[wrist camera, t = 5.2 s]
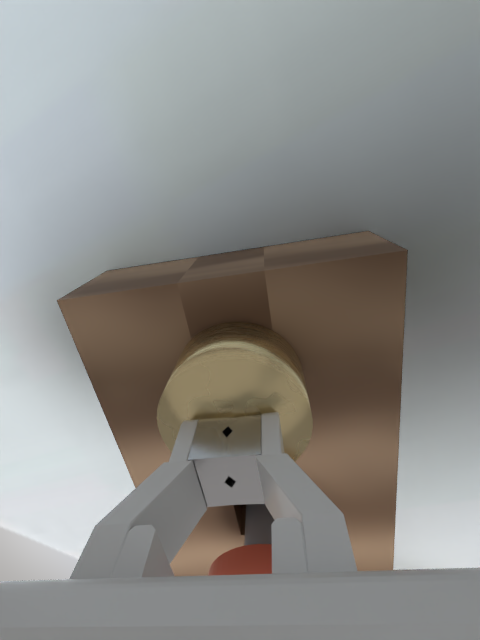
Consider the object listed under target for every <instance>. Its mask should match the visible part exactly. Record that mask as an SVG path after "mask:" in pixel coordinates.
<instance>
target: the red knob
mask: <svg viewBox="0 0 480 640" xmlns="http://www.w3.org/2000/svg"><path fill="white" fill-rule="evenodd" d="M274 521H275V520H274V519H273V517H272V515H271V514H270V512H269V510H268V509H267V507H266V505H265V504H246V520H245V541H244V546H241V547H237V548H234V549H231V550H229V551H227V552H225V553H223V554H222V555H220V556H219V557H218V558H217V559H216V560H215V561H214V562H213V563H212V565H211V567H210V569H209V573H208V576H210V575H244V574H272V530H271V524H272V523H273V522H274Z"/></svg>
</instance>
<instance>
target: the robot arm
mask: <svg viewBox="0 0 480 640" xmlns="http://www.w3.org/2000/svg"><path fill="white" fill-rule="evenodd" d="M242 504H265V505H266V507H267V509H268V510H269V512H270V514H271V515H272V517H273V519H274V520H275V521H274V522H273V523H272V524H271V530H272V574H244V575H210V576H174V573H173V571H172V569H171V566H170V563H171V562H172V560H173V559H174V557H175V556H176V554H177V553H178V551H179V550H180V548H181V547H182V545H183V544H184V542H185V541H186V539H187V538H188V537H189V535H190V534H191V532H192V531H193V529H194V528H195V526H196V525H197V523H198V522H199V520H200V519H201V517H202V516H203V514H204V513H205V511H206V510H207V507H215V506H226V505H242ZM0 640H480V568H449V569H413V570H378V571H357V567H356V563H355V559H354V555H353V551H352V547H351V542H350V538H349V534H348V530H347V526H346V522H345V518H344V514H343V513H342V512H341V511H340V510H339V509H338V508H337V506H336V505H335V504H334V503H333V502H332V501H331V500H330V499H329V498H328V497H327V496H326V495H325V494H324V493H323V491H322V490H321V489H320V488H319V487H318V486H317V485H316V484H315V483H314V482H313V481H312V480H311V479H310V478H309V477H308V475H307V474H306V473H305V472H304V471H303V470H302V469H301V468H300V467H299V466H298V465H297V464H296V463H295V462H294V460H293V459H292V458H291V457H290V456H289V455H288V454H287V453H285V452H284V445H283V438H282V431H281V424H280V417H279V413H278V412H272V413H264V414H258V415H248V416H238V417H225V418H210V419H200V420H185V421H183V423H182V424H181V426H180V429H179V432H178V435H177V438H176V441H175V444H174V447H173V450H172V453H171V456H170V459H169V462H164V463H163V464H162V465H161V466H159V467H158V468H157V469H156V470H155V471H154V472H153V473H152V474H151V475H150V476H149V477H148V478H146V479H145V480H144V481H143V482H142V483H141V484H140V485H139V486H138V487H137V488H136V489H135V490H133V491H132V492H131V493H130V494H129V495H128V496H127V497H126V498H125V499H124V500H123V501H122V502H120V503H119V504H118V505H117V506H116V507H115V508H114V509H113V510H112V511H111V512H110V513H109V514H107V515H106V516H105V517H104V518H103V519H102V520H101V521H100V522H99V523H98V524H97V525H96V526H95V527H94V529H93V531H92V534H91V536H90V538H89V540H88V542H87V544H86V546H85V548H84V550H83V552H82V554H81V556H80V558H79V560H78V562H77V564H76V567H75V568H74V571H73V573H72V575H71V577H70V579H67V580H33V581H0Z"/></svg>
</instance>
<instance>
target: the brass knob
mask: <svg viewBox="0 0 480 640" xmlns="http://www.w3.org/2000/svg"><path fill="white" fill-rule="evenodd" d="M272 412H278V413H279V417H280V424H281V431H282V438H283V445H284V452H285V453H287V454H288V455H289V456H290V457H291V458H292V459H293V460H294V462H295V461H296V460H297V459H298V458H299V457H300V456H301V455H302V453H303V452H304V451H305V449H306V447H307V445H308V444H309V441H310V438H311V435H312V429H313V419H312V413H311V408H310V403H309V399H308V394H307V389H306V384H305V380H304V375H303V370H302V366H301V363H300V360H299V357H298V356H297V354H296V352H295V350H294V349H293V348H292V346H291V345H290V344H289V343H288V342H287V341H286V340H285V339H284V338H283V337H281V336H280V335H279V334H277V333H276V332H274V331H272V330H270V329H268V328H266V327H264V326H260V325H257V324H253V323H248V322H227V323H221V324H217V325H214V326H211V327H209V328H207V329H205V330H203V331H201V332H200V333H198V334H197V335H196V336H194V337H193V338H192V339H191V340H190V341H189V342H188V343H187V345H186V346H185V347H184V349H183V351H182V352H181V355H180V357H179V359H178V361H177V363H176V365H175V368H174V370H173V372H172V374H171V376H170V378H169V380H168V383H167V385H166V387H165V389H164V391H163V393H162V396H161V398H160V400H159V404H158V408H157V424H158V428H159V432H160V434H161V437H162V439H163V441H164V443H165V444H166V446H167V447H168V449H169V450H170V451H171V452H172V450H173V447H174V444H175V441H176V438H177V435H178V432H179V429H180V426H181V424H182V423H183V421H185V420H200V419H210V418H225V417H238V416H248V415H258V414H264V413H272Z"/></svg>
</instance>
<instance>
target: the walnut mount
mask: <svg viewBox="0 0 480 640" xmlns="http://www.w3.org/2000/svg"><path fill="white" fill-rule="evenodd" d="M407 253H408V250H406V249H404V248H402V247H400V246H398V245H396V244H394V243H392V242H390V241H388V240H386V239H384V238H382V237H380V236H378V235H376V234H374V233H372V232H370V231H365V232H358V233H351V234H345V235H338V236H332V237H325V238H319V239H312V240H306V241H299V242H293V243H286V244H280V245H273V246H267V247H260V248H253V249H247V250H240V251H234V252H227V253H221V254H214V255H208V256H201V257H195V258H188V259H182V260H175V261H169V262H162V263H155V264H149V265H142V266H136V267H129V268H123V269H116V270H110V271H106V272H104V273H102V274H101V275H99V276H97V277H96V278H94V279H92V280H91V281H89V282H87V283H86V284H84V285H82V286H81V287H79V288H77V289H75V290H74V291H72V292H70V293H69V294H67V295H65V296H64V297H62V298H60V299H59V300H57V302H58V304H59V307H60V309H61V312H62V314H63V316H64V319H65V321H66V323H67V326H68V328H69V331H70V333H71V335H72V338H73V340H74V342H75V345H76V347H77V350H78V352H79V354H80V357H81V359H82V361H83V364H84V366H85V369H86V371H87V373H88V376H89V378H90V381H91V383H92V385H93V388H94V390H95V392H96V395H97V397H98V400H99V402H100V404H101V407H102V409H103V411H104V414H105V416H106V419H107V421H108V423H109V426H110V428H111V430H112V433H113V435H114V438H115V440H116V442H117V445H118V447H119V449H120V452H121V454H122V457H123V459H124V461H125V464H126V466H127V469H128V471H129V473H130V476H131V478H132V480H133V483H134V485H135V488H137V487H138V486H139V485H140V484H141V483H142V482H143V481H144V480H145V479H146V478H148V477H149V476H150V475H151V474H152V473H153V472H154V471H155V470H156V469H157V468H158V467H159V466H161V465H162V464H163V463H164V462H169V459H170V456H171V453H172V452H171V451H170V450H169V449H168V447H167V446H166V444H165V443H164V441H163V439H162V437H161V434H160V432H159V428H158V424H157V408H158V404H159V400H160V398H161V396H162V393H163V391H164V389H165V387H166V385H167V383H168V380H169V378H170V376H171V374H172V372H173V370H174V368H175V365H176V363H177V361H178V359H179V357H180V355H181V352H182V351H183V349H184V347H185V346H186V345H187V343H188V342H189V341H190V340H191V339H192V338H193V337H194V336H196V335H197V334H198V333H200V332H201V331H203V330H205V329H207V328H209V327H211V326H214V325H217V324H221V323H227V322H248V323H253V324H257V325H260V326H264V327H266V328H268V329H270V330H272V331H274V332H276V333H277V334H279V335H280V336H281V337H283V338H284V339H285V340H286V341H287V342H288V343H289V344H290V345H291V346H292V348H293V349H294V350H295V352H296V354H297V356H298V357H299V360H300V363H301V366H302V370H303V375H304V380H305V384H306V389H307V394H308V399H309V403H310V408H311V413H312V419H313V429H312V435H311V438H310V441H309V444H308V445H307V447H306V449H305V451H304V452H303V453H302V455H301V456H300V457H299V458H298V459H297V460H296V461H295V463H296V464H297V465H298V466H299V467H300V468H301V469H302V470H303V471H304V472H305V473H306V474H307V475H308V477H309V478H310V479H311V480H312V481H313V482H314V483H315V484H316V485H317V486H318V487H319V488H320V489H321V490H322V491H323V493H324V494H325V495H326V496H327V497H328V498H329V499H330V500H331V501H332V502H333V503H334V504H335V505H336V506H337V508H338V509H339V510H340V511H341V512H342V513H343V514H344V518H345V522H346V526H347V530H348V534H349V538H350V542H351V547H352V551H353V555H354V559H355V563H356V567H357V571H378V570H393V558H394V536H395V514H396V493H397V471H398V449H399V427H400V405H401V384H402V362H403V340H404V318H405V296H406V275H407ZM245 520H246V504H242V505H226V506H215V507H207V510H206V511H205V513H204V514H203V516H202V517H201V519H200V520H199V522H198V523H197V525H196V526H195V528H194V529H193V531H192V532H191V534H190V535H189V537H188V538H187V539H186V541H185V542H184V544H183V545H182V547H181V548H180V550H179V551H178V553H177V554H176V556H175V557H174V559H173V560H172V562H171V563H170V566H171V569H172V571H173V573H174V576H208V573H209V569H210V567H211V565H212V563H213V562H214V561H215V560H216V559H217V558H218V557H219V556H220V555H222V554H223V553H225V552H227V551H229V550H231V549H234V548H237V547H241V546H244V541H245Z"/></svg>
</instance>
